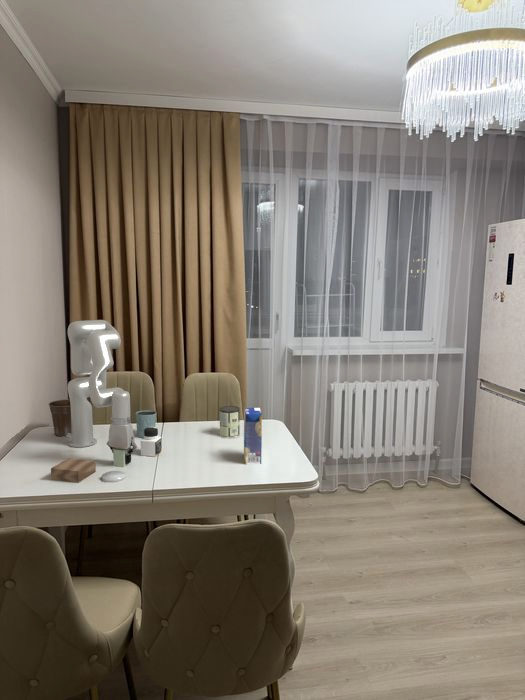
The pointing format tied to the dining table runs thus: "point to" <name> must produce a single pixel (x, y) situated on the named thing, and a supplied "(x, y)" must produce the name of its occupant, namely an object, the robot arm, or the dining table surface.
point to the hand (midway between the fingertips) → (122, 461)
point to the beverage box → (252, 435)
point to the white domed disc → (113, 476)
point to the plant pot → (61, 416)
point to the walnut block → (73, 470)
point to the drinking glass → (144, 421)
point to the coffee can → (229, 421)
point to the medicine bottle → (151, 442)
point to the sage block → (119, 457)
